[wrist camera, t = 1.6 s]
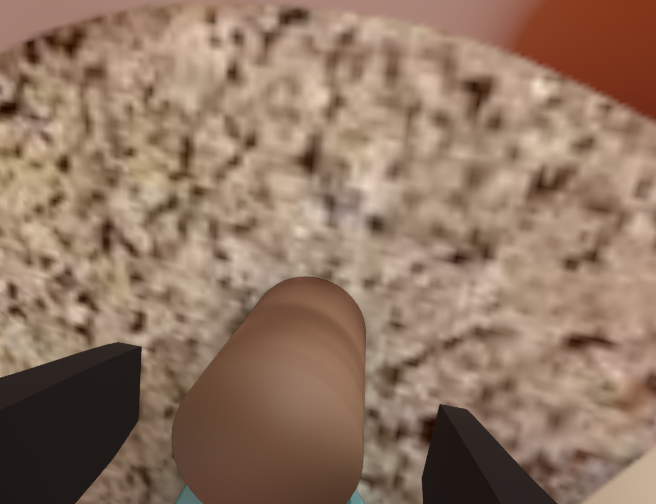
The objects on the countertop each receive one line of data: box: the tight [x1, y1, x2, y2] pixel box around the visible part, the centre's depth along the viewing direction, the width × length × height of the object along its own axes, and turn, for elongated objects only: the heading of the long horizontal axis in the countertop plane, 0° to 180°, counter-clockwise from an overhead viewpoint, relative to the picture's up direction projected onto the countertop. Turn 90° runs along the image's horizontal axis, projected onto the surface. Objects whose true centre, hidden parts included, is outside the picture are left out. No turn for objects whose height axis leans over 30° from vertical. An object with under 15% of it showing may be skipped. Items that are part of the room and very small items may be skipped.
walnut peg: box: [172, 277, 366, 504], centre depth 11 cm, size 4×4×6 cm
